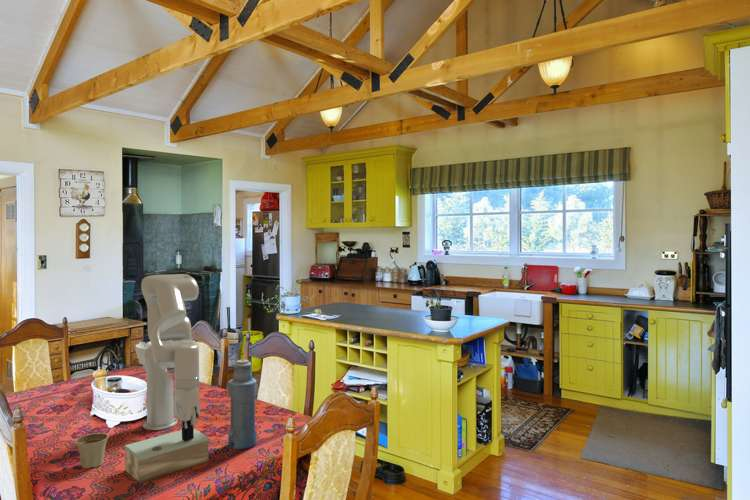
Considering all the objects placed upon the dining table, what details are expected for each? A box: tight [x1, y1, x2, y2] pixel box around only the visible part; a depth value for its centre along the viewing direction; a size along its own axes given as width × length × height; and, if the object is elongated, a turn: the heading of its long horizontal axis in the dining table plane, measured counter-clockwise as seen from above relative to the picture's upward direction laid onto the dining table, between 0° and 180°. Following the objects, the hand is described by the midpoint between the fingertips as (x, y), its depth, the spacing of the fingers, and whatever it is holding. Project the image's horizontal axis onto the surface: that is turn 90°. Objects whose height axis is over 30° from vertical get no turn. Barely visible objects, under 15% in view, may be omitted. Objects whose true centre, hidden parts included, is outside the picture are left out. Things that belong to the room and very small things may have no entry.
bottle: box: [227, 359, 258, 450], centre depth 182 cm, size 10×10×30 cm
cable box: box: [124, 440, 210, 484], centre depth 166 cm, size 12×22×7 cm, turn 135°
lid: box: [124, 427, 210, 460], centre depth 165 cm, size 12×22×1 cm, turn 135°
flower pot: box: [74, 432, 110, 469], centre depth 167 cm, size 9×9×9 cm
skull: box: [134, 340, 172, 372], centre depth 248 cm, size 25×19×23 cm
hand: (187, 439), depth 166 cm, fingers closed
